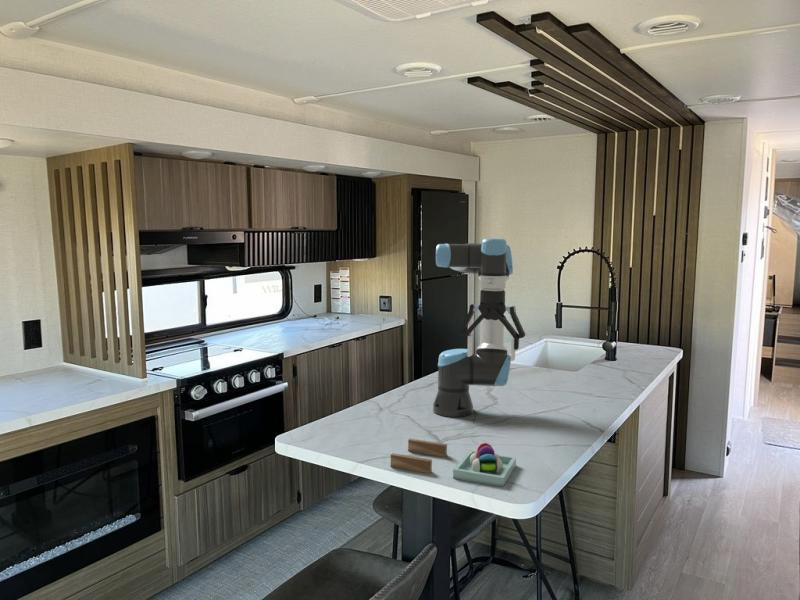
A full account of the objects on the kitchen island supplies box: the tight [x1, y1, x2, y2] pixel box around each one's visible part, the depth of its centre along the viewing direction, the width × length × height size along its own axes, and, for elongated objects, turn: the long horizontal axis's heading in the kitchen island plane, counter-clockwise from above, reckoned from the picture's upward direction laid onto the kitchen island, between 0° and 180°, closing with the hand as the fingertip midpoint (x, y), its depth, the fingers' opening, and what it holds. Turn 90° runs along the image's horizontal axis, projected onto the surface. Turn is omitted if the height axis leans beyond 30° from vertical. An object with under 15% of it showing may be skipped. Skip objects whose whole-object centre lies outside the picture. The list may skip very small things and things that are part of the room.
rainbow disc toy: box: [470, 442, 503, 473], centre depth 171 cm, size 8×10×7 cm
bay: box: [390, 438, 448, 474], centre depth 179 cm, size 15×12×4 cm
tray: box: [452, 449, 517, 488], centre depth 171 cm, size 16×14×2 cm
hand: (491, 358), depth 187 cm, fingers open, 13 cm apart
